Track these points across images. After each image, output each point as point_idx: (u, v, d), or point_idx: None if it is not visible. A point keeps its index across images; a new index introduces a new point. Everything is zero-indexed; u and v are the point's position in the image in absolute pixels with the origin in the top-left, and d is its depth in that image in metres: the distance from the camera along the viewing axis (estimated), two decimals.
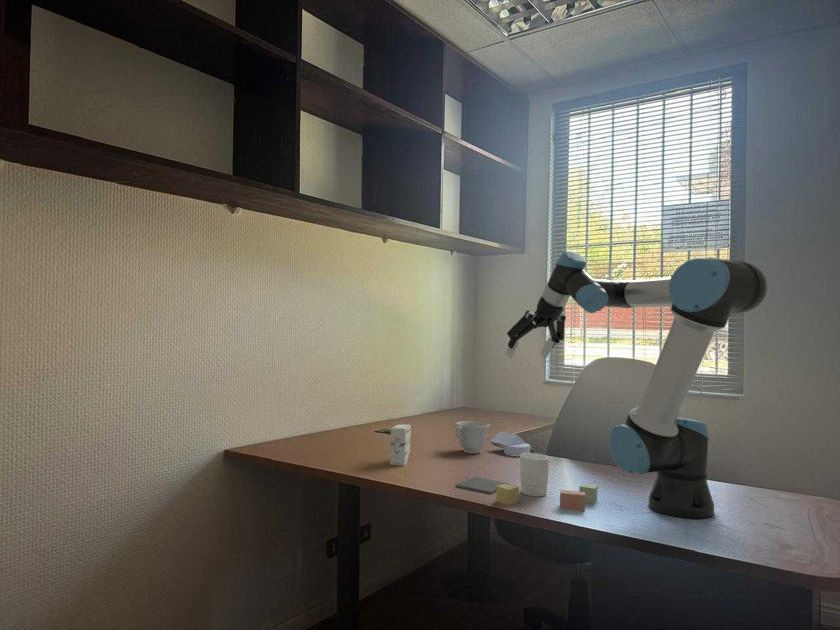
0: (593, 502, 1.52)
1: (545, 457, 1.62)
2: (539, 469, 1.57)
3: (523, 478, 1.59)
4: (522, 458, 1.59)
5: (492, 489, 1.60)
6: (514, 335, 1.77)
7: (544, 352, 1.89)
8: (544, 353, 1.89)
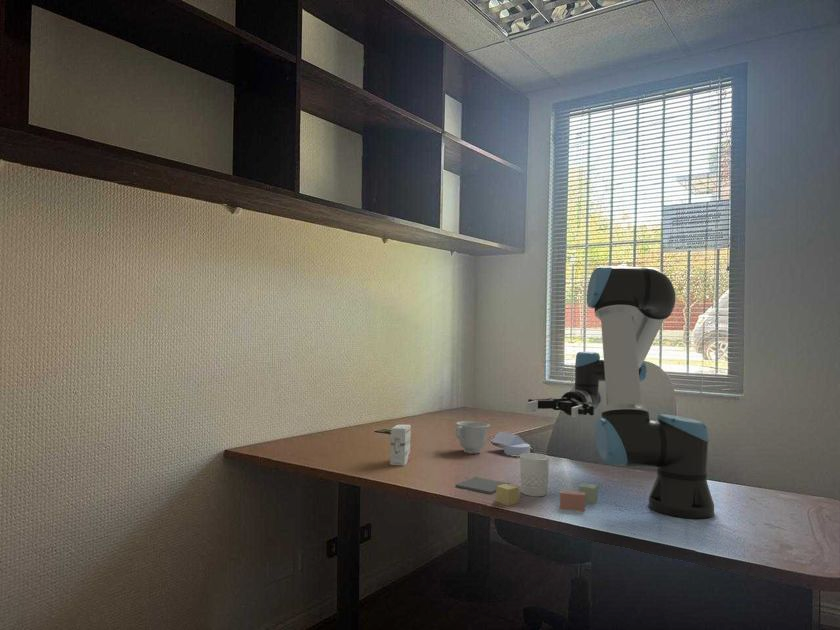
0: (593, 502, 1.52)
1: (545, 457, 1.62)
2: (539, 469, 1.57)
3: (523, 478, 1.59)
4: (522, 458, 1.59)
5: (492, 489, 1.60)
6: (532, 399, 1.81)
7: None
8: None
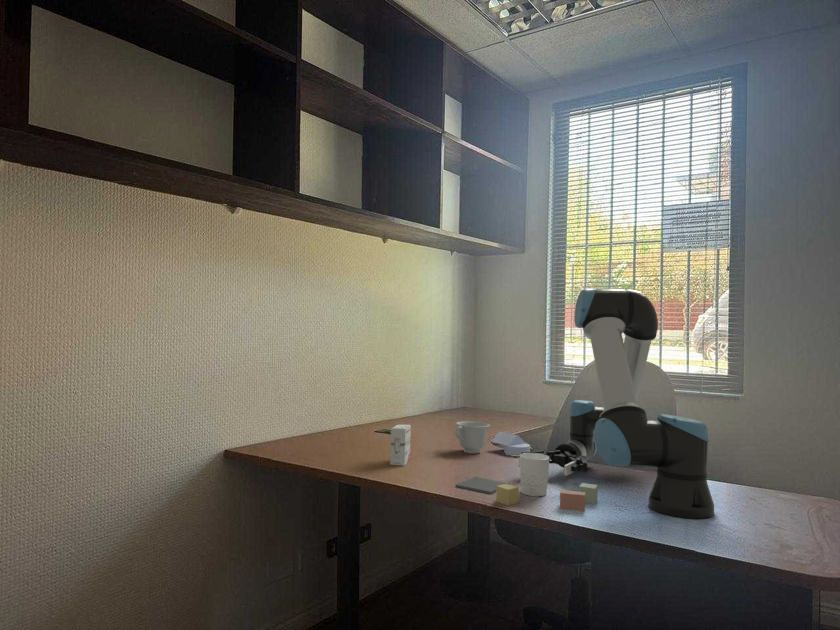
0: (593, 502, 1.52)
1: (545, 457, 1.62)
2: (539, 469, 1.57)
3: (523, 478, 1.59)
4: (522, 458, 1.59)
5: (492, 489, 1.60)
6: (525, 452, 1.78)
7: None
8: None
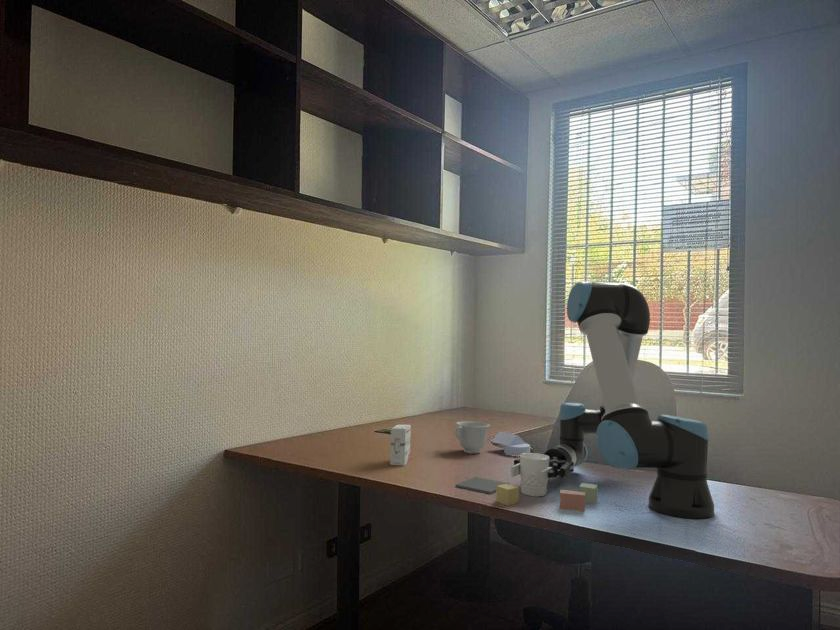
0: (593, 502, 1.52)
1: (545, 457, 1.62)
2: (539, 469, 1.57)
3: (523, 478, 1.59)
4: (522, 458, 1.59)
5: (492, 489, 1.60)
6: (517, 459, 1.67)
7: None
8: None
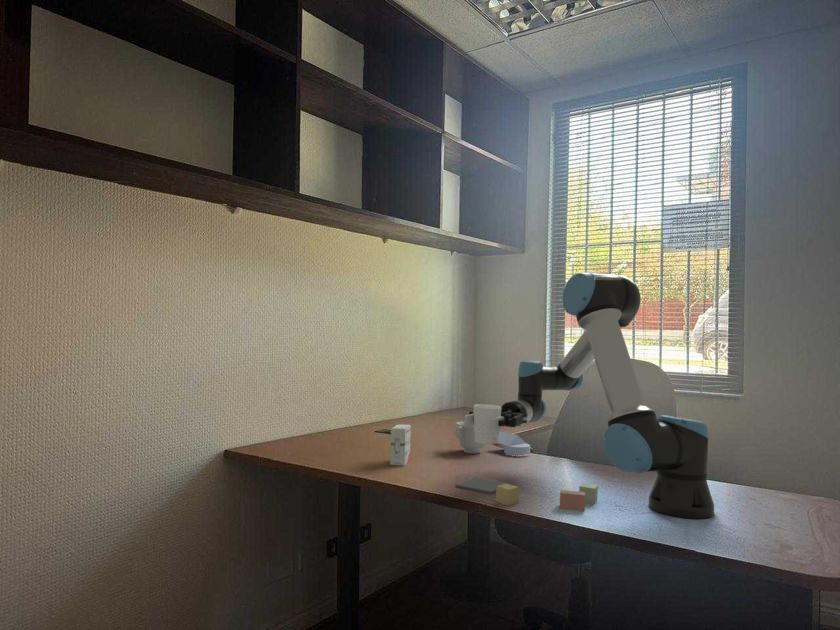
0: (593, 502, 1.52)
1: (498, 407, 1.68)
2: (490, 418, 1.63)
3: (476, 426, 1.65)
4: (475, 407, 1.65)
5: (492, 489, 1.60)
6: (473, 411, 1.74)
7: None
8: None
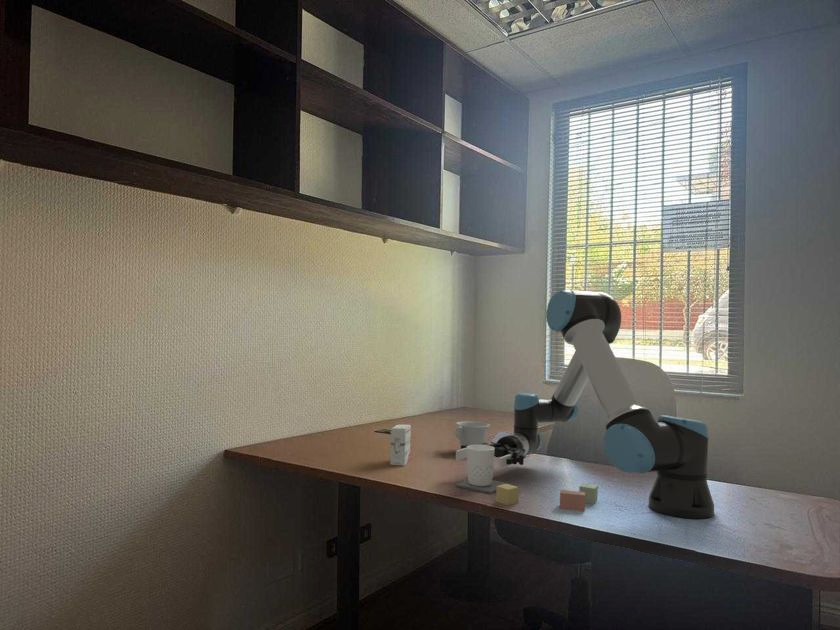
0: (593, 502, 1.52)
1: (491, 448, 1.68)
2: (484, 460, 1.63)
3: (469, 468, 1.65)
4: (468, 449, 1.65)
5: (492, 489, 1.60)
6: (465, 445, 1.75)
7: None
8: None
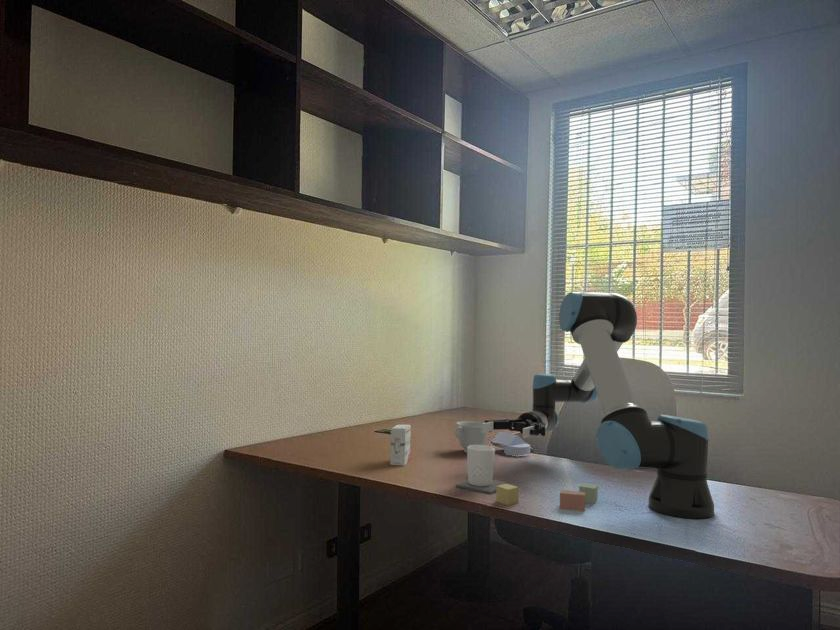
0: (593, 502, 1.52)
1: (492, 448, 1.68)
2: (484, 460, 1.63)
3: (469, 468, 1.65)
4: (468, 449, 1.65)
5: (492, 489, 1.60)
6: (489, 420, 1.88)
7: None
8: None
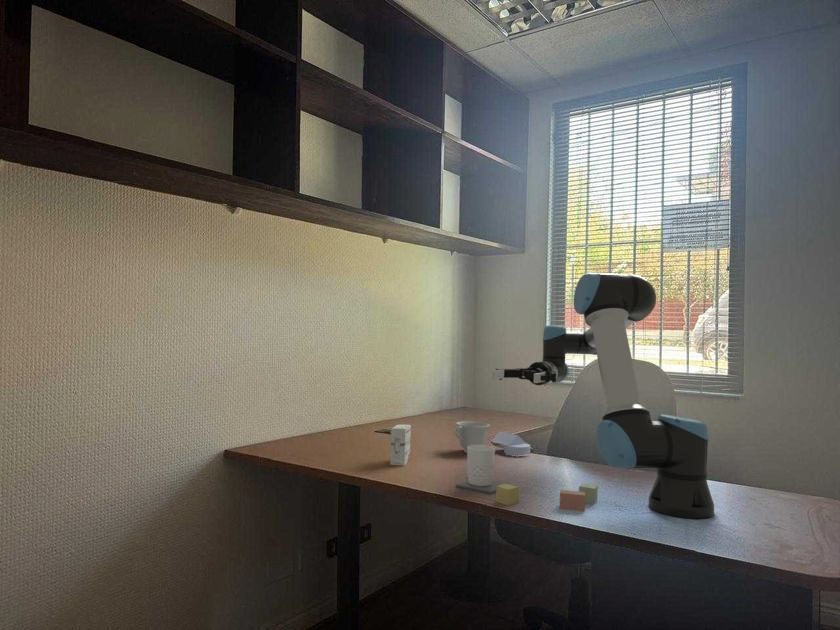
0: (593, 502, 1.52)
1: (492, 448, 1.68)
2: (484, 460, 1.63)
3: (469, 468, 1.65)
4: (468, 449, 1.65)
5: (492, 489, 1.60)
6: (499, 369, 1.89)
7: None
8: None
